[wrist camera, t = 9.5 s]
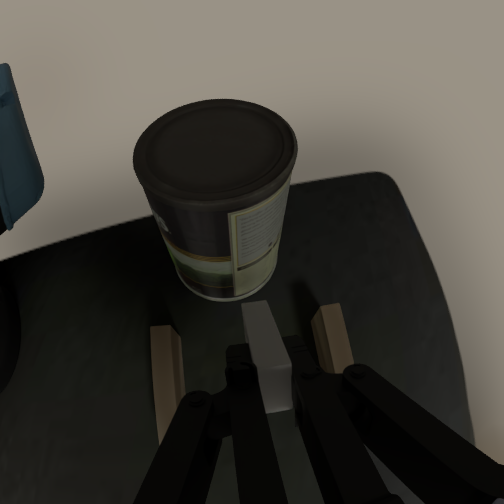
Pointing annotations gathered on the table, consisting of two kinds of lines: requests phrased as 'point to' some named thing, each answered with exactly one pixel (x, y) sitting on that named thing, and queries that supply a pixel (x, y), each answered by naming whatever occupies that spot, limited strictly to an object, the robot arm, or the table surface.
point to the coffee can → (218, 192)
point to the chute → (171, 365)
